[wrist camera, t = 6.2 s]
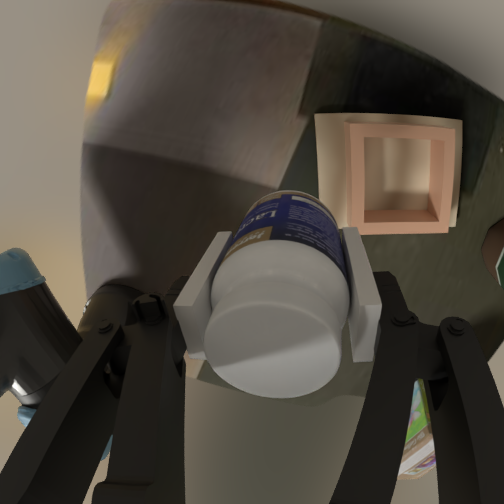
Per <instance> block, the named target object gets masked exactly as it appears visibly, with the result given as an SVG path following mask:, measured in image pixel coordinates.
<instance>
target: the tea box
mask: <svg viewBox="0 0 504 504" xmlns="http://www.w3.org/2000/svg"><path fill="white" fill-rule="evenodd" d="M435 467H436V459H435V450H434V442H433V435H432V428H431V422H430V415H429V409H428V404H427V398H426V393H425V388H424V383H423V379H418V378H415V384H414V392H413V399H412V406H411V413H410V419H409V425H408V431H407V436H406V441H405V446H404V451H403V456H402V460H401V465H400V469H399V473H398V477H397V479H418V478H420V477H422V476H423V475H425V474H426V473H428V472H429V471H431V470H432V469H434V468H435Z"/></svg>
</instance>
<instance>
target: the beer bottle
mask: <svg viewBox="0 0 504 504" xmlns="http://www.w3.org/2000/svg"><path fill="white" fill-rule="evenodd" d="M481 251H482V255H483V258H484V262H485V265H486V268H487V269H488V271H489V272H490V273H491V275H492V276H493V277H494V278H495V280H496V281H497V282H498V283H499V284H500V286H501V287H502V288H503V289H504V219H502V220H501V221H500V222H498V223H497V224H495V225H494V226H493V227H491V228H490V229H489V230H488V232H487V235H486V238H485V240H484V243H483V245H482V248H481Z"/></svg>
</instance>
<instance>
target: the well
mask: <svg viewBox="0 0 504 504" xmlns="http://www.w3.org/2000/svg"><path fill="white" fill-rule="evenodd" d="M344 130H345V151H346V194H347V217H346V222H347V224H348V227H357V228H358V231H359V234H360V235H369V234H412V233H448V227H449V219H450V211H451V202H452V192H453V179H454V163H455V129H453V128H449V127H444V126H440V125H429V124H415V123H397V122H364V121H344ZM364 137H380V138H409V139H427V140H431V141H430V177H429V193H428V206H427V210H364V197H365V165H364Z"/></svg>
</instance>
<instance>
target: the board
mask: <svg viewBox="0 0 504 504" xmlns="http://www.w3.org/2000/svg"><path fill="white" fill-rule="evenodd" d="M314 119H315V133H316V148H317V166H318V187H319V200H320V201H321V202H322V203H323V204H325V205H326V206H327V208H328V209H329V210H330V211H331V213H332V214H333V216H334V218H335V220H336V222H337V226H338V229H342V227H348V224H347V222H346V217H347V194H346V151H345V130H344V121H364V122H397V123H415V124H429V125H440V126H444V127H449V128H453V129H455V163H454V179H453V192H452V202H451V211H450V219H449V227H455V224H456V217H457V209H458V200H459V189H460V177H461V161H462V120H457V119H449V118H439V117H429V116H416V115H401V114H378V113H317V114H314ZM430 141H431V140H427V139H409V138H380V137H364V165H365V197H364V210H427V206H428V193H429V177H430Z"/></svg>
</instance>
